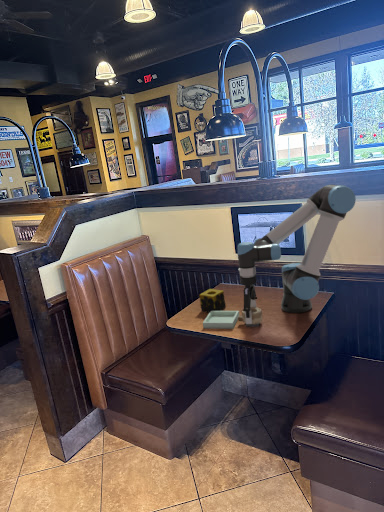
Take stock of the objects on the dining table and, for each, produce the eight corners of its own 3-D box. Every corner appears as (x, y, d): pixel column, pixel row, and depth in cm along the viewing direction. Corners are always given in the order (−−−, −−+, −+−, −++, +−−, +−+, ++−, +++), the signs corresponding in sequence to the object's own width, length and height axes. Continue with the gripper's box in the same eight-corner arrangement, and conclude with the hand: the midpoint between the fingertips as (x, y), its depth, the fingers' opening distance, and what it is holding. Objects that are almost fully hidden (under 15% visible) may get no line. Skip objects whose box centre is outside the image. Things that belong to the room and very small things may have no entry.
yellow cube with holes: (211, 305, 214) (209, 288, 212) (226, 307, 207) (224, 290, 205) (200, 311, 206) (198, 294, 204) (215, 314, 200) (213, 296, 198)
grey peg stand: (260, 321, 183) (259, 310, 181) (258, 326, 177) (257, 315, 176) (247, 321, 185) (246, 310, 183) (245, 326, 179) (244, 315, 178)
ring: (263, 316, 183) (262, 307, 182) (260, 324, 175) (259, 314, 174) (240, 316, 187) (239, 307, 186) (237, 324, 179) (235, 314, 178)
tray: (239, 316, 193) (239, 310, 192) (233, 328, 179) (232, 323, 178) (211, 316, 198) (210, 310, 197) (203, 328, 184) (202, 322, 183)
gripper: (244, 268, 188) (248, 307, 193) (234, 283, 165) (238, 328, 170) (259, 267, 186) (263, 308, 190) (251, 283, 163) (255, 329, 168)
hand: (251, 317), depth 180 cm, fingers open, 13 cm apart
